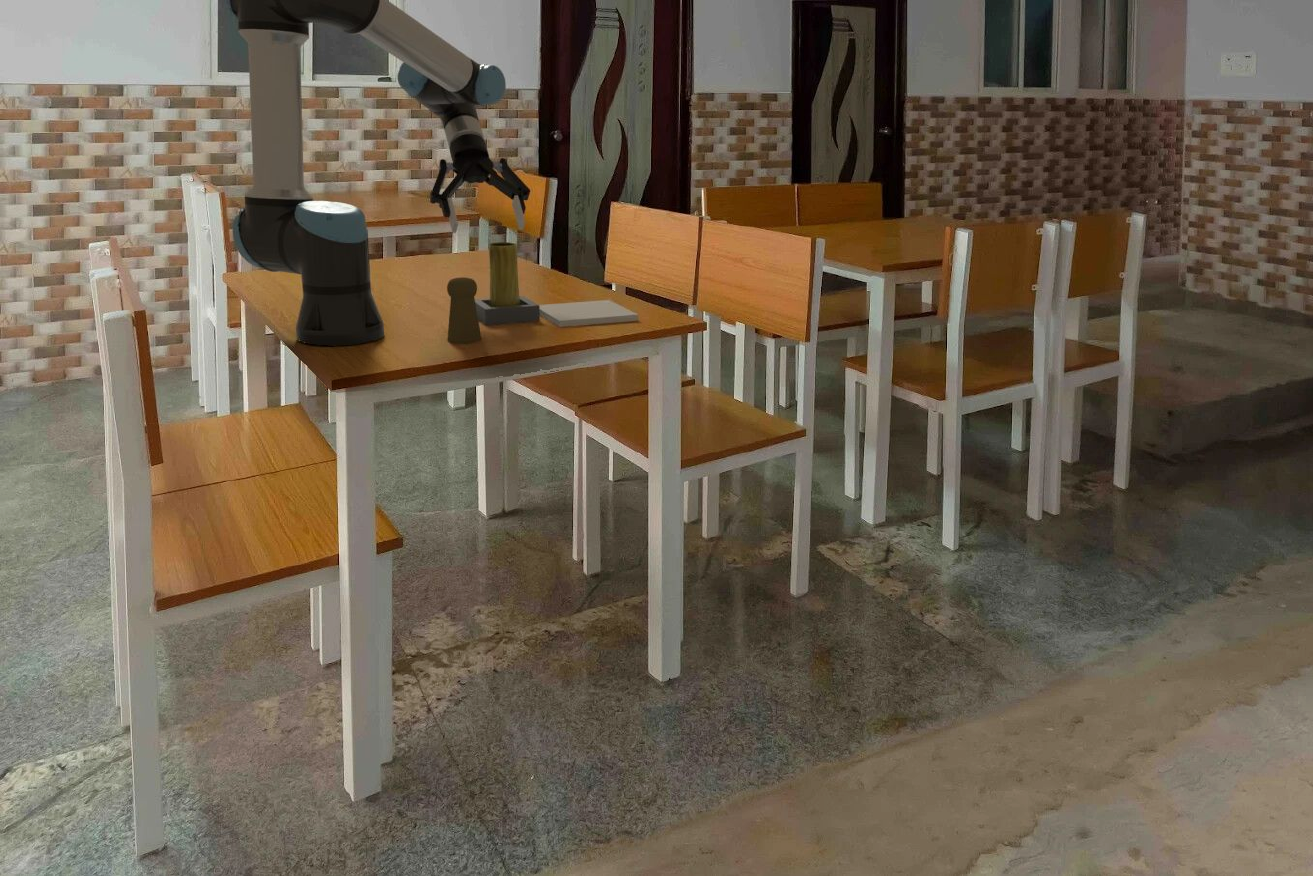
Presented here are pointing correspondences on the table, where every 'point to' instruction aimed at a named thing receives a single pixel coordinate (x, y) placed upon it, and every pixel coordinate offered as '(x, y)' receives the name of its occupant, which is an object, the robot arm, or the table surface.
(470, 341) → the olive brown pawn
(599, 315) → the board
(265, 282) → the table surface
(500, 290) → the vase
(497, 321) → the collar
